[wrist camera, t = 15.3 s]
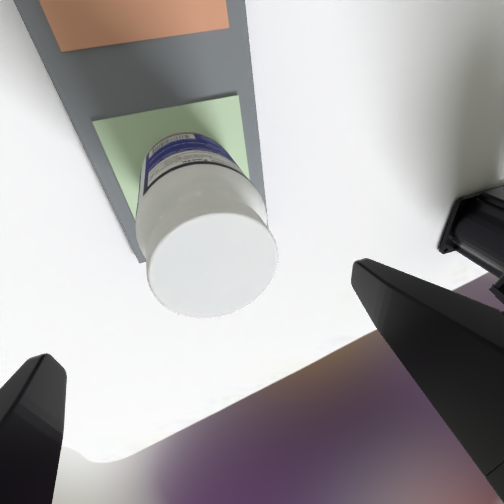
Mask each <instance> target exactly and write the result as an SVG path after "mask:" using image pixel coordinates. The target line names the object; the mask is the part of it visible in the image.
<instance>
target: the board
mask: <svg viewBox="0 0 504 504" xmlns="http://www.w3.org/2000/svg"><path fill="white" fill-rule="evenodd" d="M14 2H15V5H16V7H17V9H18V11H19V13H20V15H21V17H22V19H23V21H24V23H25V25H26V28H27V30H28V32H29V34H30V36H31V38H32V40H33V42H34V44H35V46H36V48H37V50H38V53H39V55H40V57H41V59H42V61H43V63H44V65H45V67H46V69H47V71H48V73H49V76H50V78H51V80H52V82H53V84H54V86H55V88H56V90H57V92H58V94H59V96H60V99H61V101H62V103H63V105H64V107H65V109H66V111H67V113H68V115H69V117H70V119H71V121H72V124H73V126H74V128H75V130H76V132H77V134H78V136H79V138H80V140H81V142H82V144H83V147H84V149H85V151H86V153H87V155H88V157H89V159H90V161H91V163H92V165H93V167H94V169H95V172H96V174H97V176H98V178H99V180H100V182H101V184H102V186H103V188H104V190H105V192H106V195H107V197H108V199H109V201H110V203H111V205H112V207H113V209H114V211H115V213H116V215H117V218H118V220H119V222H120V224H121V226H122V228H123V230H124V232H125V234H126V236H127V238H128V240H129V243H130V245H131V247H132V249H133V251H134V253H135V255H136V257H137V259H138V261H139V263H143V262H146V258H145V257H144V255H143V253H142V251H141V249H140V247H139V244H138V241H137V236H136V211H137V203H138V194H139V183H140V174H141V168H142V164H143V161H144V158H145V156H146V154H147V153H148V151H149V150H150V148H151V147H152V146H153V145H154V144H155V143H156V142H157V141H158V140H160V139H161V138H163V137H165V136H167V135H169V134H172V133H175V132H181V131H192V132H198V133H201V134H204V135H207V136H209V137H211V138H212V139H214V140H215V141H217V142H218V143H219V144H220V145H221V146H222V147H223V148H224V149H225V150H226V151H227V152H228V153H229V155H230V156H231V157H232V159H233V160H234V161H235V162H236V164H237V165H238V166H239V168H240V169H241V170H242V171H243V173H244V174H245V175H246V176H247V178H248V179H249V180H250V181H251V182H252V184H253V185H254V186H255V188H256V189H257V191H258V192H259V194H260V196H261V198H262V200H263V202H264V205H265V208H266V200H265V190H264V181H263V171H262V161H261V152H260V142H259V132H258V123H257V113H256V103H255V94H254V84H253V74H252V65H251V55H250V45H249V36H248V26H247V16H246V7H245V0H14ZM266 213H267V210H266ZM267 227H268V219H267Z"/></svg>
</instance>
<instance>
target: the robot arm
mask: <svg viewBox="0 0 504 504" xmlns="http://www.w3.org/2000/svg"><path fill="white" fill-rule="evenodd" d="M452 251H457V252H459V253H460V254H462V255H464V256H465V257H467V258H468V259H470V260H471V261H473V262H474V263H476V264H478V265H479V266H481V267H482V268H484V269H485V270H487V271H488V272H490V273H492V274H493V275H495V276H496V277H498V278H499V280H498V281H497V282H496V283H495V284H493V285H492V286H491V287H490V288H489V290H490V291H491V292H492V293H493V294H495V297H497V298H498V299H499V300H500V301H501V302H502V303H503V304H504V186H501V187H498V188H494V189H490V190H487V191H483V192H480V193H476V194H472V195H469V196H465V197H461V198H459V199H458V200H457V201H456V203H455V206H454V208H453V211H452V214H451V217H450V220H449V222H448V225H447V228H446V231H445V234H444V237H443V239H442V242H441V245H440V248H439V252H441V253H442V254H446V253H449V252H452ZM351 284H352V287H353V289H354V290H355V292H356V294H357V296H358V297H359V299H360V301H361V302H362V304H363V306H364V308H365V309H366V311H367V313H368V315H369V316H370V318H371V320H372V321H373V323H374V325H375V326H376V328H377V329H378V331H379V332H380V334H381V335H382V336H383V338H384V339H385V340H386V342H387V343H388V345H389V346H390V347H391V349H392V350H393V351H394V353H395V354H396V355H397V357H398V358H399V360H400V361H401V362H402V364H403V365H404V366H405V368H406V369H407V371H408V372H409V373H410V375H411V376H412V378H413V379H414V380H415V382H416V383H417V384H418V386H419V387H420V388H421V390H422V391H423V393H424V394H425V395H426V397H427V398H428V399H429V401H430V402H431V404H432V405H433V406H434V408H435V409H436V410H437V412H438V413H439V414H440V416H441V417H442V419H443V420H444V421H445V423H446V424H447V425H448V427H449V428H450V430H451V431H452V432H453V434H454V435H455V436H456V438H457V439H458V441H459V442H460V443H461V445H462V446H463V447H464V449H465V450H466V451H467V453H468V454H469V456H470V457H471V458H472V460H473V461H474V462H475V464H476V465H477V467H478V468H479V469H480V471H481V472H482V473H483V475H485V477H486V479H487V481H488V482H489V483H490V485H491V486H492V487H493V489H494V490H495V491H496V493H497V494H498V496H499V497H500V498H501V500H502V501H503V503H504V311H500V310H499V309H496V308H494V307H491V306H489V305H486V304H483V303H481V302H479V301H476V300H473V299H471V298H468V297H466V296H463V295H461V294H458V293H455V292H453V291H450V290H448V289H445V288H443V287H440V286H438V285H435V284H432V283H430V282H427V281H425V280H422V279H420V278H417V277H415V276H412V275H409V274H407V273H404V272H402V271H399V270H397V269H394V268H391V267H389V266H386V265H384V264H381V263H379V262H376V261H374V260H371V259H368V258H364V259H361V260H357V261H355V262H354V264H353V269H352V277H351ZM66 382H67V375H66V371H65V369H64V368H63V367H62V366H61V365H60V364H59V363H58V362H57V361H56V360H55V359H54V358H53V357H52V356H51V355H50V354H47V353H46V354H41V355H38V356H35V357H32V358H30V359H28V360H27V361H26V362H25V363H24V364H23V365H22V366H21V367H20V368H19V369H18V370H17V371H16V373H15V374H14V375H13V376H12V377H11V378H10V379H9V380H8V381H7V382H6V383H5V384H4V385H3V386H2V388H1V389H0V504H52V499H53V493H54V487H55V481H56V475H57V469H58V463H59V458H60V451H61V446H62V439H63V431H64V417H65V399H66Z"/></svg>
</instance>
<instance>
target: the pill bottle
mask: <svg viewBox="0 0 504 504" xmlns="http://www.w3.org/2000/svg"><path fill="white" fill-rule="evenodd" d="M136 236H137V241H138V244H139V247H140V249H141V251H142V253H143V255H144V257H145V258H146V265H147V279H148V283H149V286H150V289H151V291H152V292H153V294H154V296H155V297H156V298H157V300H158V301H159V302H160V303H161V304H162V305H163V306H165V307H166V308H168V309H169V310H171V311H173V312H175V313H177V314H180V315H183V316H186V317H190V318H199V319H207V318H216V317H221V316H226V315H229V314H232V313H235V312H237V311H239V310H241V309H243V308H245V307H247V306H248V305H250V304H251V303H252V302H254V301H255V300H256V299H257V298H259V297H260V296H261V295H262V294H263V293H264V291H265V290H266V289H267V288H268V286H269V285H270V283H271V282H272V280H273V278H274V276H275V273H276V270H277V265H278V249H277V245H276V241H275V239H274V237H273V235H272V233H271V232H270V230H269V229H268V227H267V213H266V208H265V205H264V202H263V200H262V198H261V196H260V194H259V192H258V191H257V189H256V188H255V186H254V185H253V184H252V182H251V181H250V180H249V179H248V178H247V176H246V175H245V174H244V173H243V171H242V170H241V169H240V168H239V166H238V165H237V164H236V162H235V161H234V160H233V159H232V157H231V156H230V155H229V153H228V152H227V151H226V150H225V149H224V148H223V147H222V146H221V145H220V144H219V143H218V142H217V141H215V140H214V139H212V138H211V137H209V136H207V135H204V134H201V133H198V132H192V131H181V132H175V133H172V134H169V135H167V136H165V137H163V138H161V139H160V140H158V141H157V142H156V143H155V144H154V145H153V146H152V147H151V148H150V150H149V151H148V153H147V154H146V156H145V158H144V161H143V164H142V168H141V174H140V183H139V194H138V203H137V211H136Z"/></svg>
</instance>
